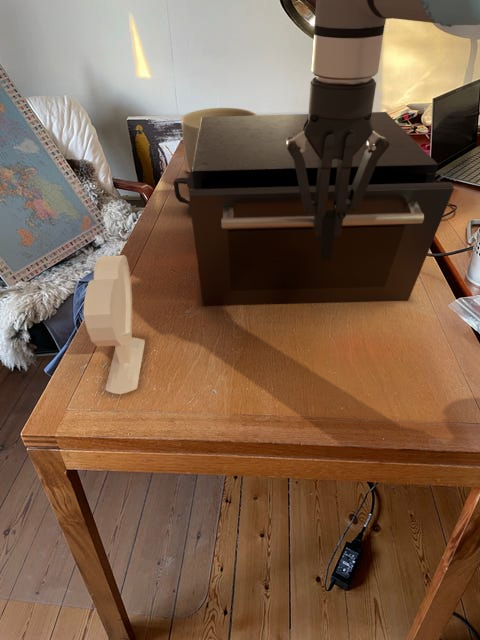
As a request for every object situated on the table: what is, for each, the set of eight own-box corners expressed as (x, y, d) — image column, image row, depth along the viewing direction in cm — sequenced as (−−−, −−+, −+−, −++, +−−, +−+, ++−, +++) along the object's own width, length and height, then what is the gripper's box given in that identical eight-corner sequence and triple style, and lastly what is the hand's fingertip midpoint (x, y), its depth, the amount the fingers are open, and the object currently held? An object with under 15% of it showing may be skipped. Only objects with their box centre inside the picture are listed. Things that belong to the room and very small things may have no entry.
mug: (223, 203, 125) (221, 163, 118) (219, 218, 118) (217, 176, 111) (180, 203, 126) (176, 162, 119) (173, 217, 119) (168, 175, 112)
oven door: (413, 315, 86) (462, 203, 66) (202, 321, 86) (187, 211, 66) (406, 294, 90) (451, 182, 70) (203, 300, 90) (189, 189, 70)
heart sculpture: (135, 397, 71) (112, 304, 59) (102, 399, 70) (73, 306, 59) (146, 333, 83) (129, 245, 72) (118, 334, 83) (97, 247, 71)
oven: (405, 295, 90) (438, 164, 74) (203, 300, 90) (191, 171, 74) (367, 221, 115) (386, 111, 99) (209, 225, 115) (201, 116, 99)
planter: (257, 199, 127) (257, 128, 115) (183, 199, 128) (175, 129, 116) (258, 172, 143) (258, 107, 131) (192, 172, 144) (186, 108, 132)
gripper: (391, 69, 56) (362, 241, 70) (284, 72, 56) (278, 243, 70) (410, 82, 50) (374, 266, 65) (290, 85, 50) (282, 269, 65)
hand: (324, 254), depth 67 cm, fingers closed
